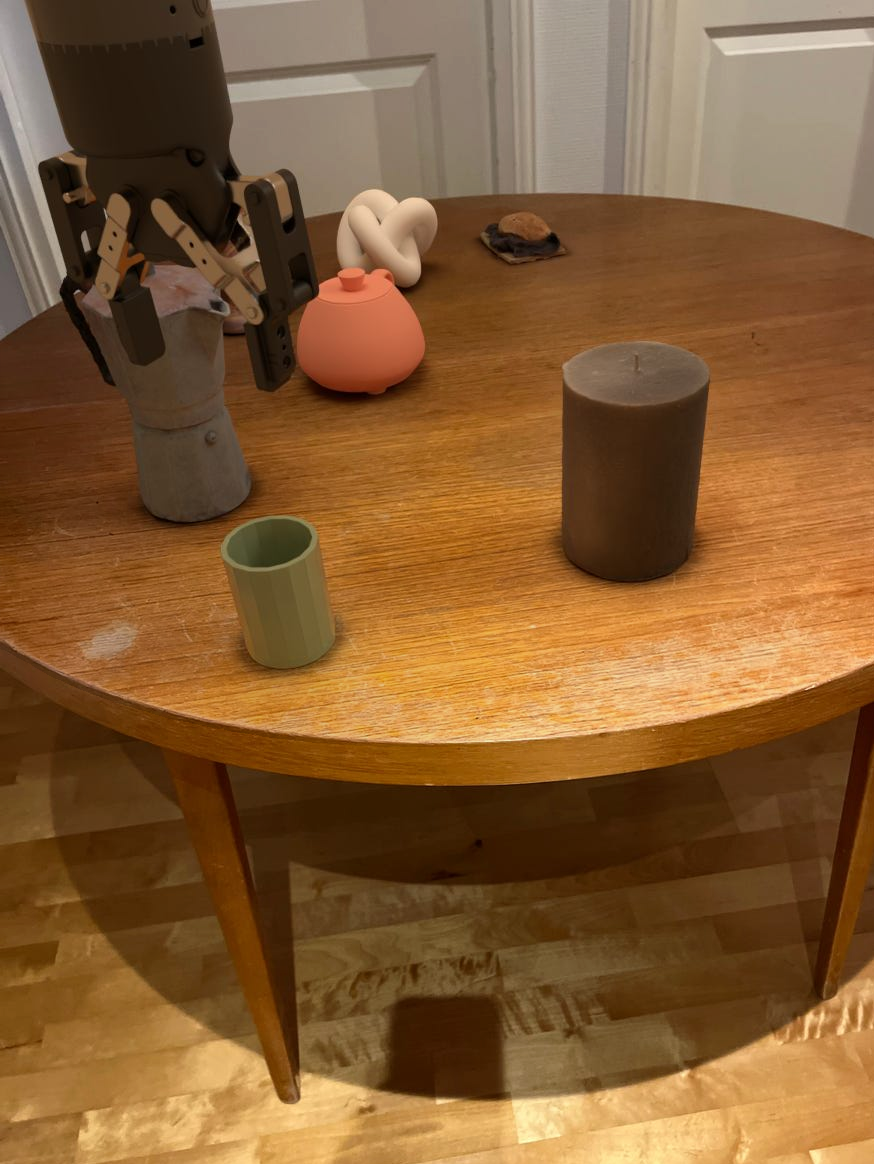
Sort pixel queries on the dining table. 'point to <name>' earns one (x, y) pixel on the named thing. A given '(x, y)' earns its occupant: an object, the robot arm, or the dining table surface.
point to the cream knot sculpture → (386, 235)
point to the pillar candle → (632, 457)
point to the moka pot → (173, 394)
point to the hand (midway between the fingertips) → (211, 372)
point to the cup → (280, 590)
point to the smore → (522, 238)
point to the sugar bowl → (359, 333)
